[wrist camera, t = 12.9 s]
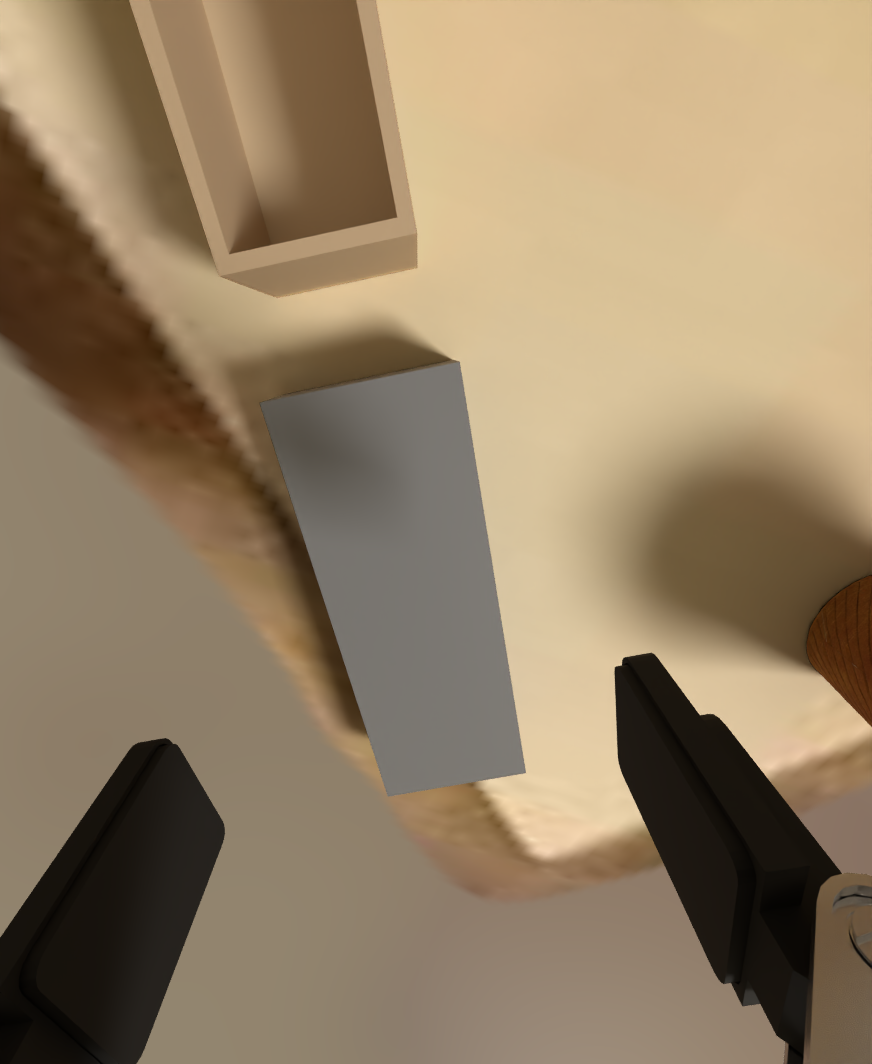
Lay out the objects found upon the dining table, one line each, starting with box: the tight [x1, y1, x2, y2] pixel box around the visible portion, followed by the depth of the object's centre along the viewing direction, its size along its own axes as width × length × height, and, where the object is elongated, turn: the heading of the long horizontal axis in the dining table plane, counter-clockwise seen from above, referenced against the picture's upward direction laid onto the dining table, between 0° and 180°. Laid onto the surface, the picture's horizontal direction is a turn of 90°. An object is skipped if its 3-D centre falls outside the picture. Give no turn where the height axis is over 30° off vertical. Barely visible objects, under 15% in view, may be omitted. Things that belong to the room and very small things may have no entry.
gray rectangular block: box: [260, 360, 526, 796], centre depth 19 cm, size 18×6×3 cm, turn 11°
